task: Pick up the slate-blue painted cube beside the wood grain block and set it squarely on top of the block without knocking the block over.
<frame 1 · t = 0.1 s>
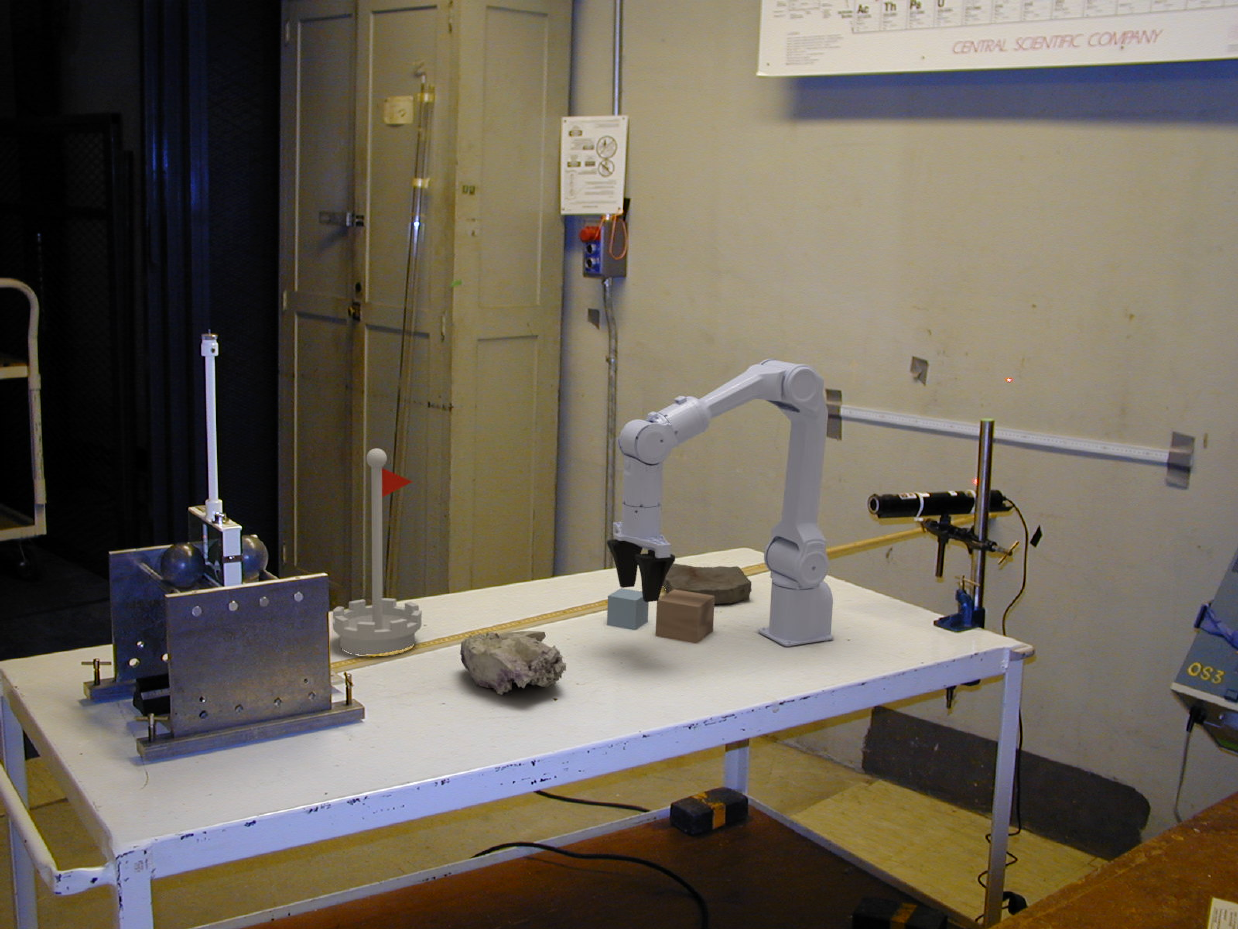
hand: (638, 593, 175), 10 cm above the table, fingers open, 7 cm apart
flag stand: (377, 646, 179), on the table
slate cube: (627, 623, 193), on the table
flat brown rock: (705, 596, 212), on the table
geode: (516, 686, 165), on the table
wood grain block: (684, 634, 189), on the table
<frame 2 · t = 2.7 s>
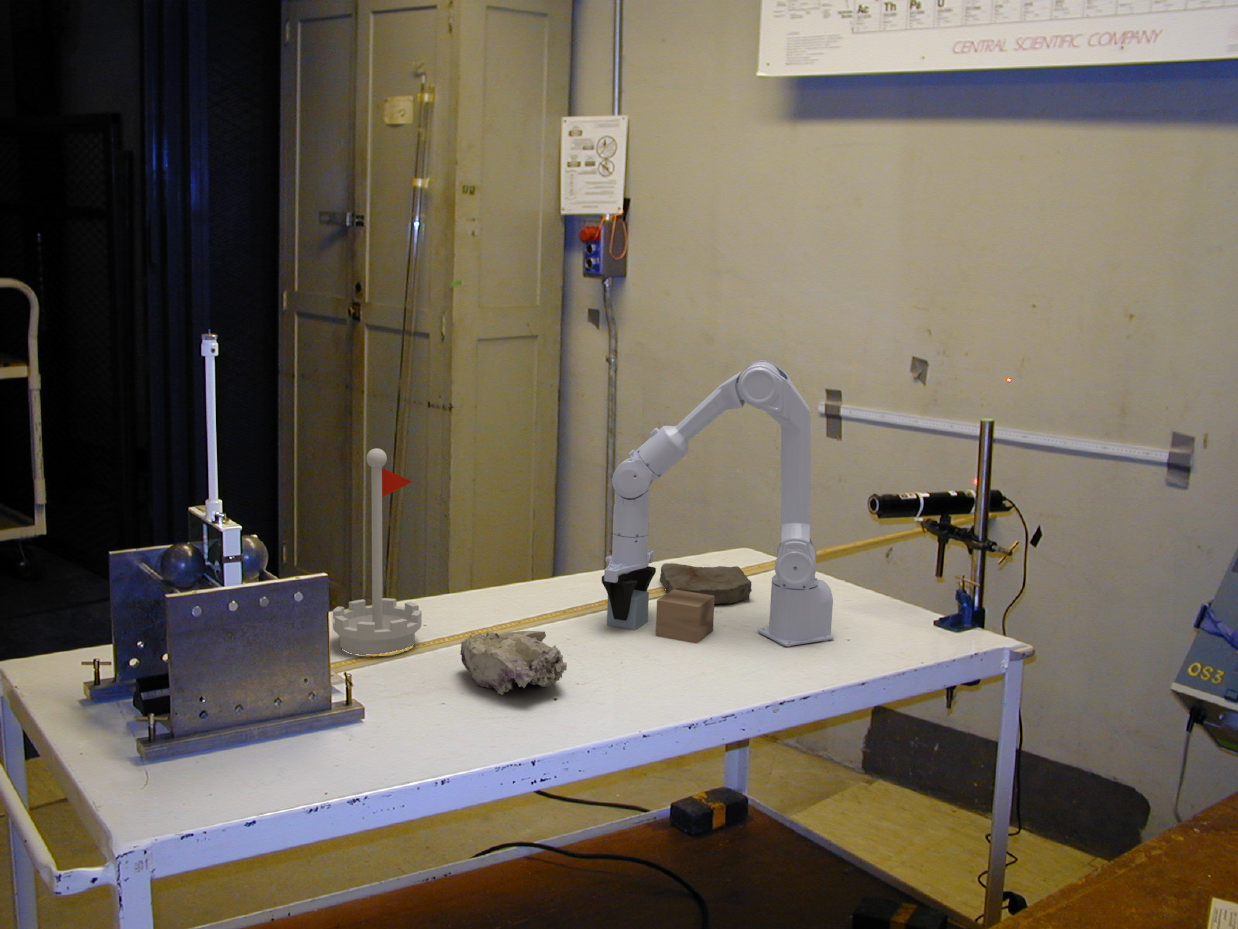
hand: (627, 614, 193), 1 cm above the table, fingers closed on slate cube, 5 cm apart
slate cube: (627, 623, 193), on the table, touching gripper
everything else where it was.
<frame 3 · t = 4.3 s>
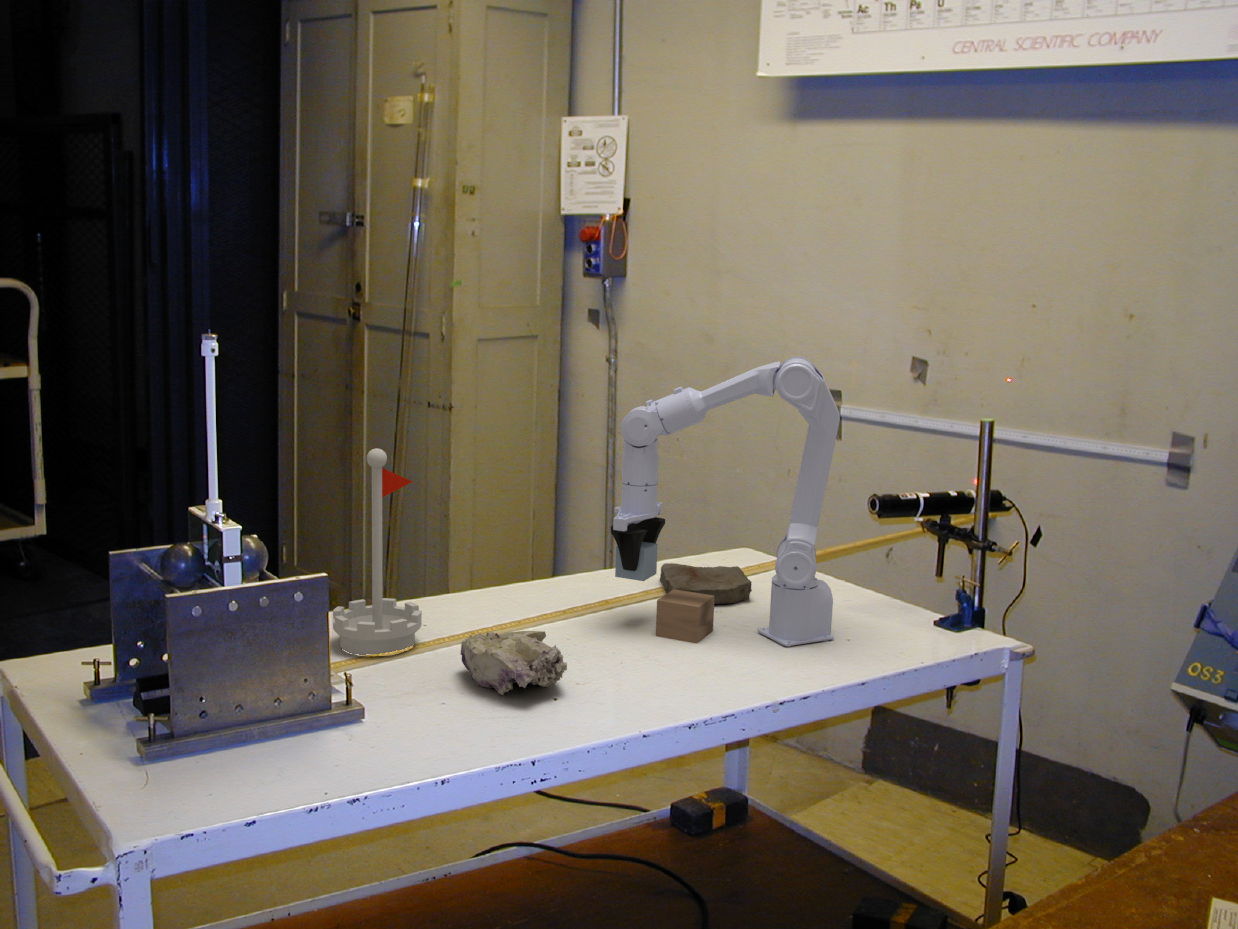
hand: (637, 565, 191), 10 cm above the table, fingers closed on slate cube, 5 cm apart
slate cube: (635, 575, 191), point 8 cm above the table, touching gripper
everything else where it was.
when the fingers open (8 cm above the table, at t = 6.0 s): slate cube stays where it is, point 6 cm above the table.
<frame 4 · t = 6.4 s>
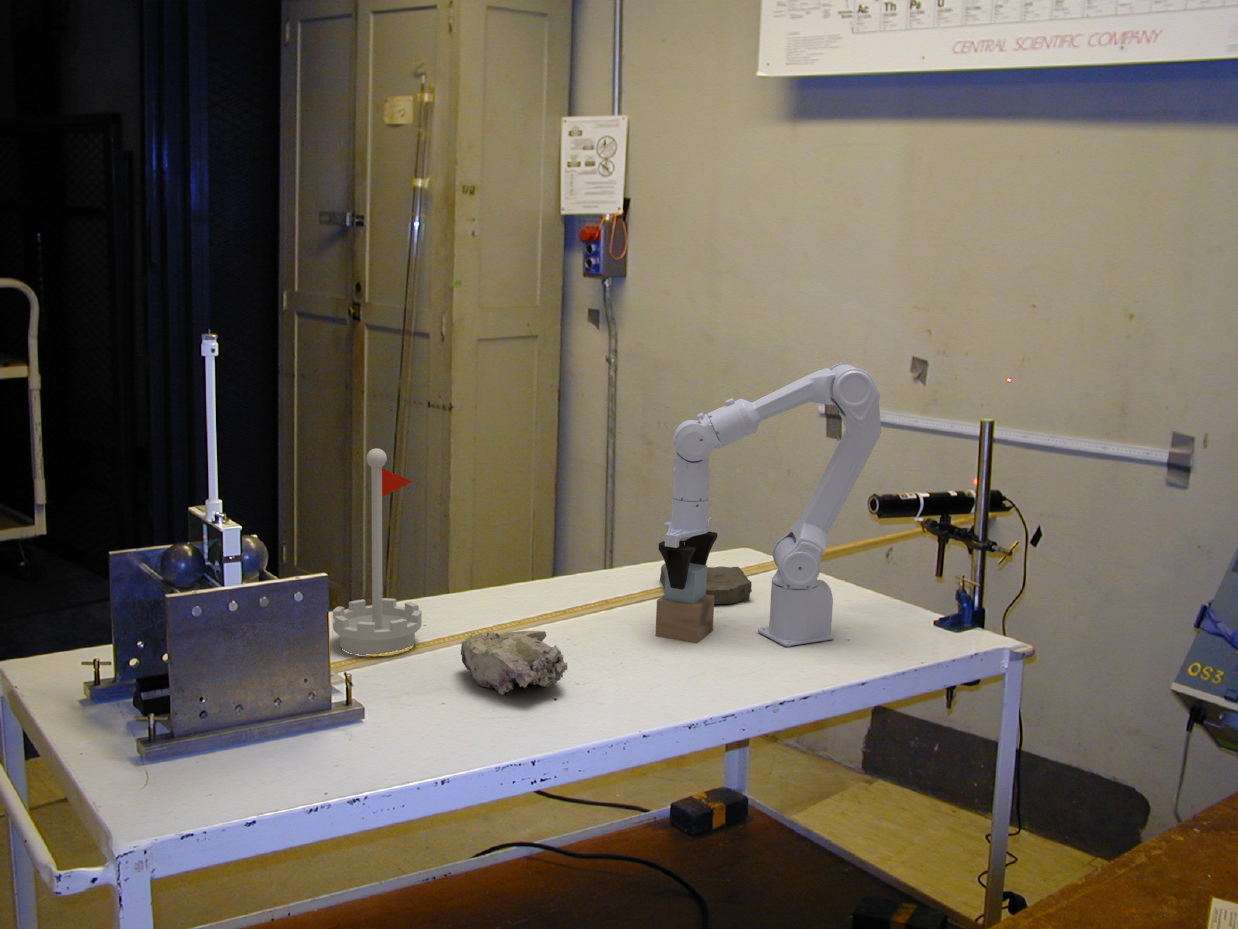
hand: (686, 582, 188), 8 cm above the table, fingers open, 7 cm apart
slate cube: (685, 597, 188), point 6 cm above the table
everything else where it was.
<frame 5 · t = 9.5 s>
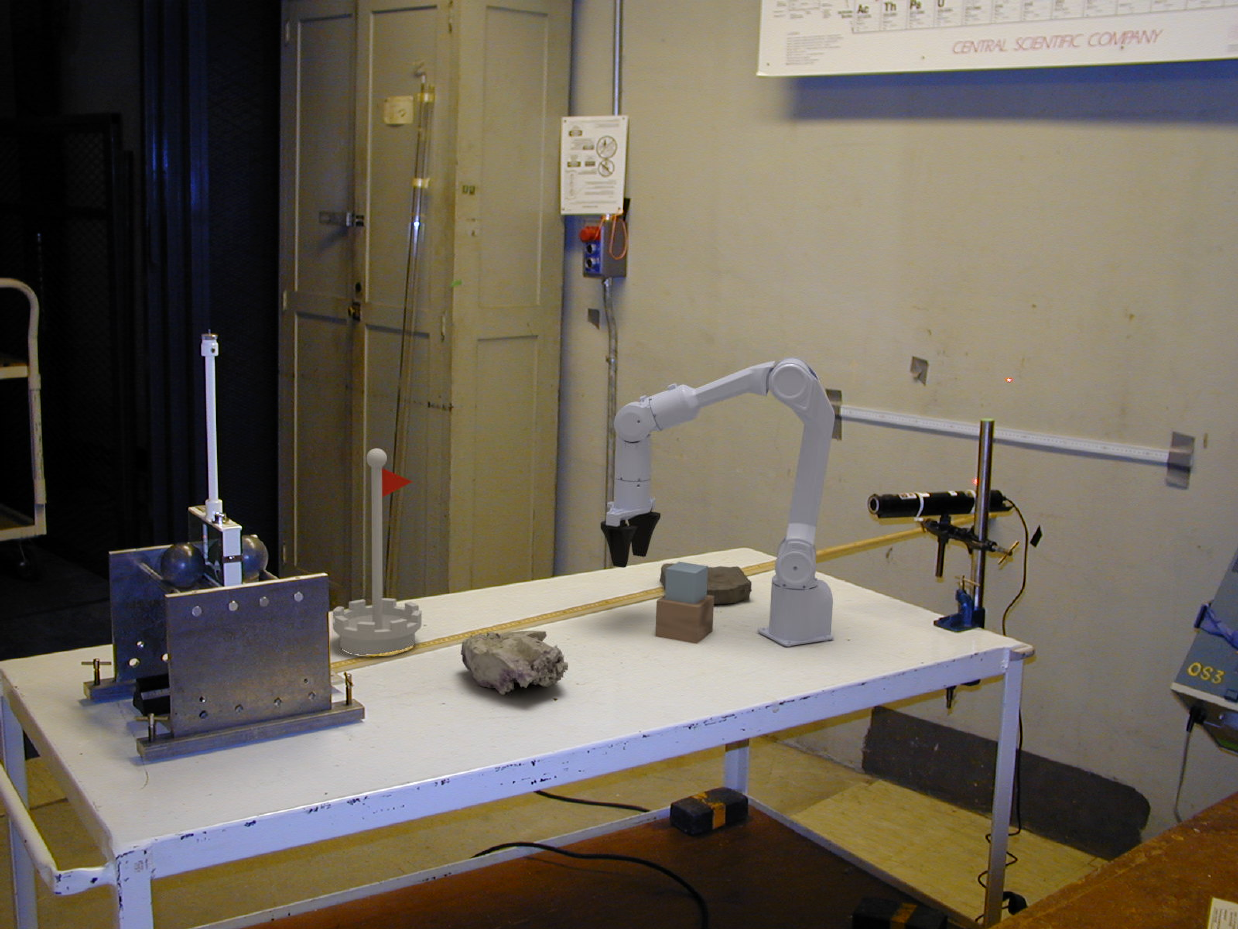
hand: (629, 561, 192), 10 cm above the table, fingers open, 7 cm apart
slate cube: (685, 598, 188), point 6 cm above the table, touching wood grain block
wood grain block: (684, 634, 189), on the table, touching slate cube
everything else where it was.
at the end: slate cube 0.1 cm off-centre on the wood grain block, point 6.0 cm above the wood grain block's base; wood grain block tilted 0°; wood grain block moved 0.2 cm from its start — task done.
